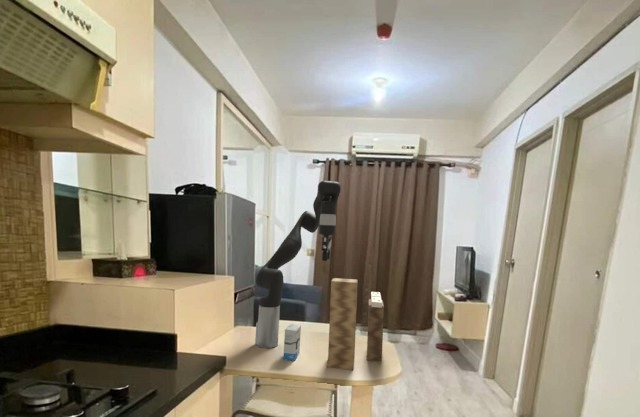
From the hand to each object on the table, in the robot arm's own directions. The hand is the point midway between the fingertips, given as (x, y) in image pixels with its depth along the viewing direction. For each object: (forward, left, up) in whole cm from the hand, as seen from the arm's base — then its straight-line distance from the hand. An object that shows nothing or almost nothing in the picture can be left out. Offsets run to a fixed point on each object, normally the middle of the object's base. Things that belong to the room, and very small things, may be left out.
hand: (326, 259), depth 154 cm
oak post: (+16, -13, -38) cm, 43 cm away
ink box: (-4, -19, -38) cm, 43 cm away
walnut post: (+24, +2, -38) cm, 45 cm away
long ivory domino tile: (+23, +4, -16) cm, 28 cm away
